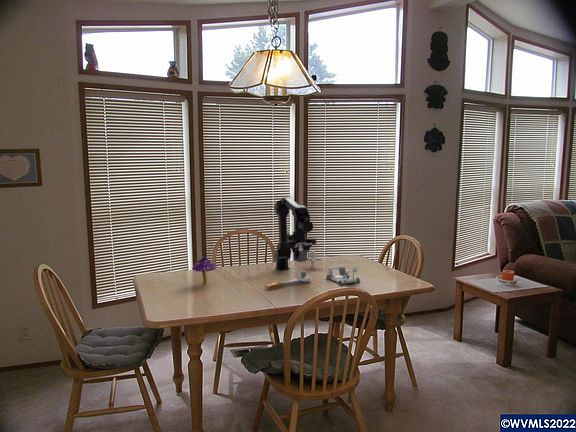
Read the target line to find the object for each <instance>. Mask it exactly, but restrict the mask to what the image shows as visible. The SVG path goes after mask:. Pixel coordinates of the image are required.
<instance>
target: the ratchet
mask: <svg viewBox="0 0 576 432" xmlns="http://www.w3.org/2000/svg"><path fill="white" fill-rule="evenodd" d="M308 283H311V276H310V275H307V271H306V270H301V272H300V275H297V276H296V278H295V279H291V280H289V279H288V280H284V281H276V282H272V283H268V284H267V283H266V284H265V285H264V289H265V290H266V291H272V290H278V289H280V288H285V287H289V286H294V285H298V284H308Z"/></svg>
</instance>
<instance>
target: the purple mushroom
mask: <svg viewBox="0 0 576 432" xmlns="http://www.w3.org/2000/svg"><path fill="white" fill-rule="evenodd" d="M191 269H192V270H193V271H194V272H198V273H200V272H201V273H202V274H201V275H202V284H203V285H204V286H205V285H207V274H206V273H207V272H211V271H214V270H217V266H216V265H215V264H214V263H213V262H212V261H211V260H209V259H208V258H207V257H206V256H202V257H201V258H200V259H198V261H197V262H196V263H195V264H194V265H193V266H192V267H191Z"/></svg>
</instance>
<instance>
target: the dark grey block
mask: <svg viewBox="0 0 576 432" xmlns="http://www.w3.org/2000/svg"><path fill="white" fill-rule="evenodd" d="M292 255H293V257H292V259H293V262H297V263H302V262H303V263H304V262H308V261H307V258H308V253H307V250H306V249H303V248H299V250H298V257H297V259H295V257H294V254H293V253H292Z"/></svg>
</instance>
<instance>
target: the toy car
mask: <svg viewBox="0 0 576 432" xmlns="http://www.w3.org/2000/svg"><path fill="white" fill-rule="evenodd" d="M359 272H360V270H359V268H358V267H357V266H352V268H351V273H352V277H351V275H349V273H350V270H348V269H346V265H335V266H330V267H328V274H327V275H326V280H328V281H330V280H331V281H334V282H335V283H338V286H340V287H341V286H343V285H345V284H350V283H357V284H360V283H361V278H359V277H356V278H354V275H355V274H358V273H359Z"/></svg>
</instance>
